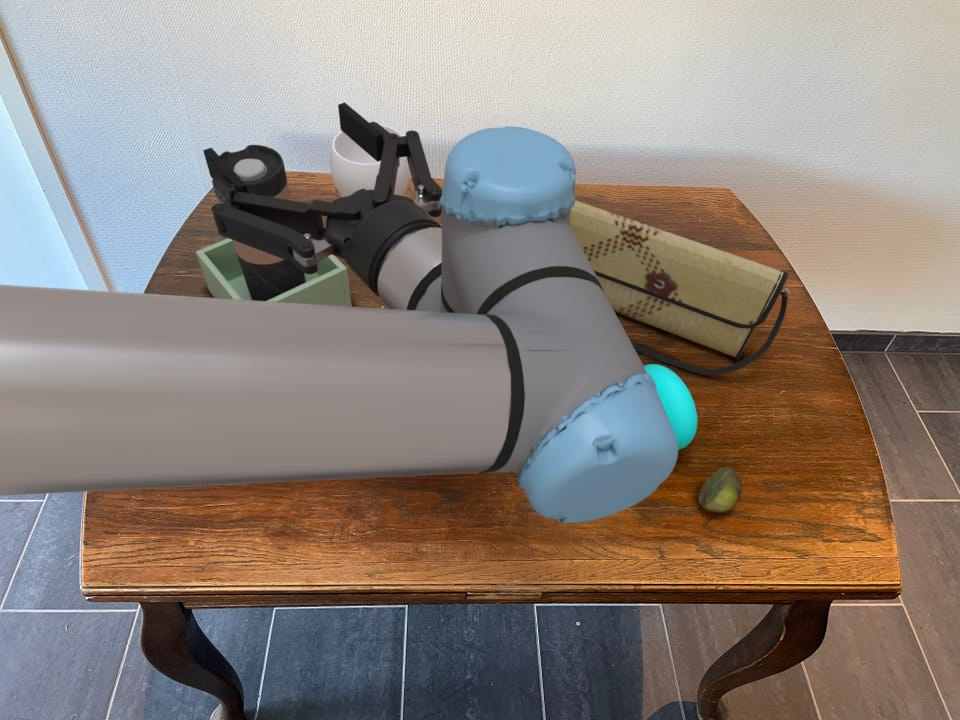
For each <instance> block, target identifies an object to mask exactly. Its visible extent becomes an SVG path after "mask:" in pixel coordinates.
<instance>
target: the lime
mask: <svg viewBox="0 0 960 720" xmlns="http://www.w3.org/2000/svg"><path fill="white" fill-rule="evenodd" d="M742 493H743V482H742V479H741V478H740V476H739V474H738V473H737V472H736V471H735V470H734V469H733V468H731V467H728V466H727V467H726V466H723V467H720V468H718V469H717V470H716V471H714V472H713V473H712V474H710V475H709V477H708V478H707V479H706V481H705V482H704V483H703V485H702V487H701V488H700V492H699V496H698V503H699V506H700V507H701V508H703V509H704V510H707V511H710V512H714V513H725V512H728V511H730V510H732V509H733V508H734V507H735V506H736V504H737V503H739V501H740V500H741V497H742V496H741V495H742Z"/></svg>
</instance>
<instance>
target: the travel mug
mask: <svg viewBox="0 0 960 720" xmlns="http://www.w3.org/2000/svg"><path fill="white" fill-rule="evenodd" d="M219 156H220V157H221V158H222V159H223V161H224V162H225V163H226V164H227V165H228V166H229V167H230V168H231V169H232V170H233V171H234V172H235V173H236V174H237V175H238V177H239V178H240V179H241V180H242V181H243V182H244V183H245V184H246V186H247V190H248V193H250V194H256V195H262V196H268V197H273V198H279V199H285V200H291V201H292V197H291V192H290V188H289V182H288V178H287V172H286V168H285V162H284V160H283V157H282V156H281V154H280V153H279V152H278V151H277V150H275V149H274V148H271V147H269V146H266V145H261V144H248V145H247V146H246V147H245V148H244V149H241V150H237V151H232V152H231V151H228V150H226V151H223V152H221V154H219ZM233 244H234V248H235V251H236V254H237V257H238V260H239V263H240V266H241V269H242V272H243V275H244V278H245V281H246V284H247V287H248V290H249V293H250V296H251V299H252V300H254V301H267V300H270V299H272V298H274V297H276V296H278V295H280V294H283V293H285V292H287V291H289V290H291V289H293V288H295V287H298V286H300V285H302V284H304V283H306V281H305V274H304V272H303V271H301V270H300V269H299V268H298V267H297V266H295V265H294V264H293V263H292V262H290V261H287V260H285V259H282V258H279V257H277V256H274V255H271V254H269V253H266V252H264V251H261V250H258V249H256V248H253V247H250V246H248V245H245V244H242V243H240V242H237V241H234V240H233Z"/></svg>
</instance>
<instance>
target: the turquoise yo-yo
mask: <svg viewBox="0 0 960 720" xmlns="http://www.w3.org/2000/svg"><path fill="white" fill-rule="evenodd" d="M643 366H644V367H645V369H646V371H647V373H648V374H649V375H651V377H652V379H653V380H654V382H655V384H656V390H657V392H658V394H659V397H660V399H661V402H662V404H663V407H664V409H665V411H666V414H667V416H668V419H669V421H670V424H671V426H672V428H673V431H674V433H675V436H676V438H677V442H678V451H679V450H682V449H684V448H686V447H688V446H689V445H690V444H691V443H692V441H693V440H694V438H695V437H696V434H697V430H698V429H697V428H698V413H697V408H696V403H695V401H694V399H693V396H692V394H691V392H690V390H689V388H688V387H687V386H686V384H685V383H684V381H683V379H681V378H680V377H679V375H677V373H675V372H674V371H673V370H671V369H670V368H668V367H666V366H664V365H661V364H655V363H652V364H646V365H643Z"/></svg>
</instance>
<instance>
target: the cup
mask: <svg viewBox="0 0 960 720" xmlns="http://www.w3.org/2000/svg"><path fill="white" fill-rule="evenodd" d="M378 124H379V125H381V126H382V127H383V128H384V129H385V130H387V131H388V132H389V133H394V134H397V135H398V137H402V136H404V135H403V134H402V133H401V132H400V131H399V130H397V129H396V128H394V127H391V126H389V125H387V124H382V123H378ZM330 147H331V148H330V153H329V156H330V157H329V166H330V174H331V179H332V181H333V183H334V186H335V187H336V190H337V192H338V194H339V196H340V198H342V197H347V196H350V195H352V194H353V193H355V192H356V191H358V190H361V189H363V188H364V189H365V190H374V188H375V183H376V177H377V175H378V174H379V168H380V163H381V161H379V162H377V161H376V160H375V159H374V158H373V157H371V156H370V155H369V154H368V153H367V152H366V151H364V150H363V149H362V148H361V147H360V146H359V145H358V144H356V143H355V142H354V141H353V140H352V139H351V138H349V137H348V136H347V135H346V134H345V133H344V132H343V131H341V130H340V131H339V132H338V133H336V135H335V136H334V137H333V139H332V142H331V146H330ZM399 163H400V167H399V166H398V172H397V178H396V184H395V190H394V194H395V195H400V196H405V195H406V193H407V189H408V186H409V183H410V180H411V178H412V177H411V173H410V169H409V165H408V162H407V158H406V157H400V158H399Z"/></svg>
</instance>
